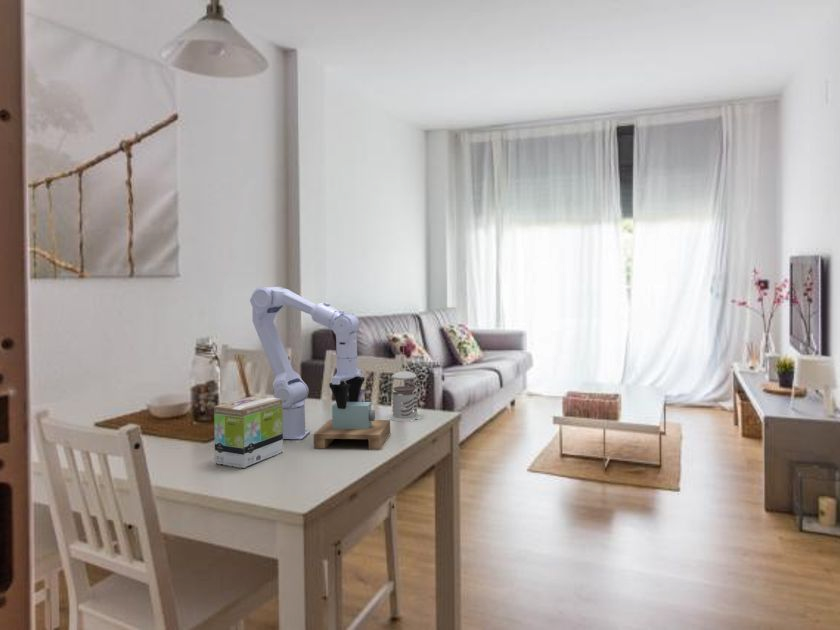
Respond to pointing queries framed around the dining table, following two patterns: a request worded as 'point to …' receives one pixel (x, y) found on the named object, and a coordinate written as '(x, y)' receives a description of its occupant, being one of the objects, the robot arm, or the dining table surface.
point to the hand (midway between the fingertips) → (347, 405)
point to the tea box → (248, 431)
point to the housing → (353, 416)
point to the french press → (404, 396)
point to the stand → (353, 434)
